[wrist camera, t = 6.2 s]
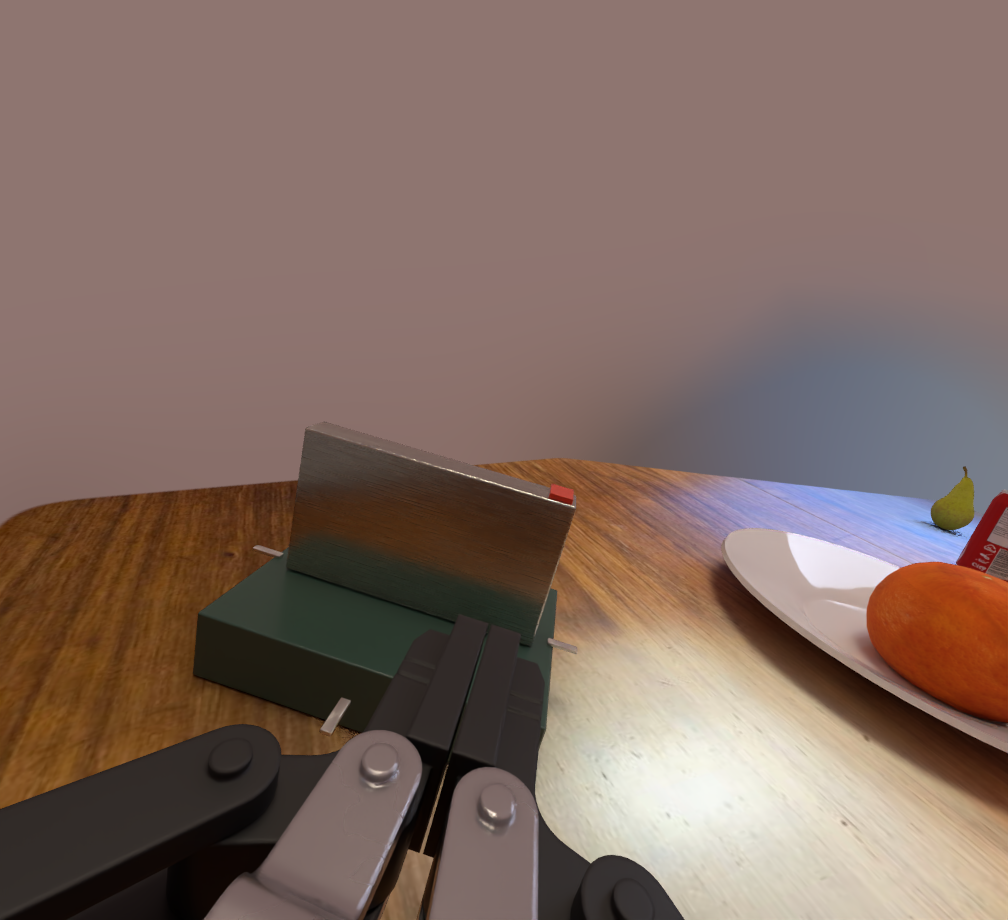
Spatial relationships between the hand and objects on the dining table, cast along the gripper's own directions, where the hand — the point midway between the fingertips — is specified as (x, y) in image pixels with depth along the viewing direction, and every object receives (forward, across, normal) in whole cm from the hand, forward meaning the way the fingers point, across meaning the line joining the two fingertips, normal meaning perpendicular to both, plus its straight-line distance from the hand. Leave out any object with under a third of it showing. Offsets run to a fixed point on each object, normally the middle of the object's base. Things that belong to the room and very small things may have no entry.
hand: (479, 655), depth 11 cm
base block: (+10, +4, +9) cm, 14 cm away
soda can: (+58, -61, +9) cm, 85 cm away
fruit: (+86, -76, +9) cm, 115 cm away
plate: (+26, -30, +9) cm, 41 cm away
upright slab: (+10, +4, +6) cm, 12 cm away
